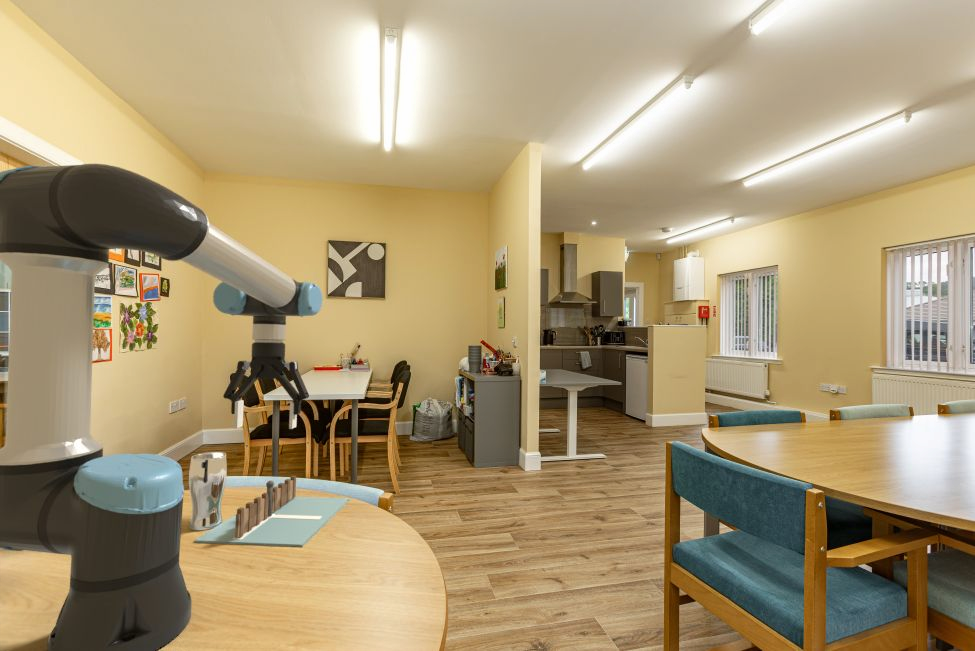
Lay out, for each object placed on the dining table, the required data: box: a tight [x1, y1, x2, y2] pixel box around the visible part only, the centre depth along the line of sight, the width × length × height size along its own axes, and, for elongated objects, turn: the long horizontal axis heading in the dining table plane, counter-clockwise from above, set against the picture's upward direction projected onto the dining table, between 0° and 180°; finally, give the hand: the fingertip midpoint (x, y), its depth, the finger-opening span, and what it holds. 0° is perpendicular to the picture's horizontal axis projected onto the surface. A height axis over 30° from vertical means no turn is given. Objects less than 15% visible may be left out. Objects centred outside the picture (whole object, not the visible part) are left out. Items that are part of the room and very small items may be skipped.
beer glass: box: [188, 451, 228, 532], centre depth 96 cm, size 7×7×15 cm
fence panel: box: [272, 475, 297, 513], centre depth 107 cm, size 11×1×5 cm, turn 177°
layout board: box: [193, 496, 350, 548], centre depth 100 cm, size 26×22×1 cm
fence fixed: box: [235, 480, 275, 538], centre depth 95 cm, size 13×2×8 cm, turn 177°
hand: (265, 427), depth 109 cm, fingers open, 12 cm apart
